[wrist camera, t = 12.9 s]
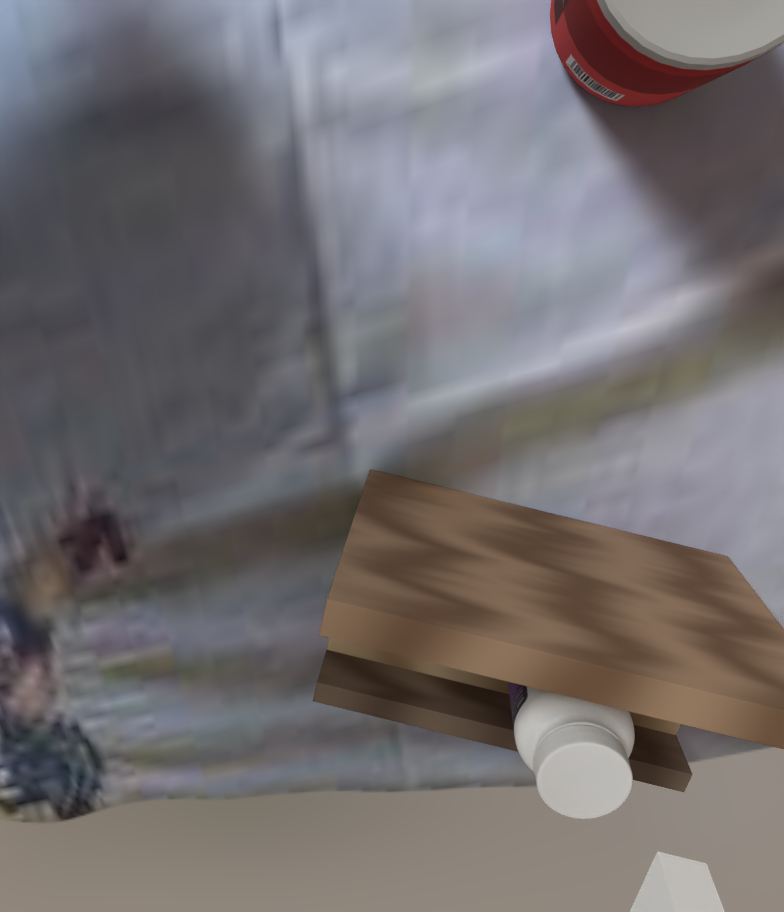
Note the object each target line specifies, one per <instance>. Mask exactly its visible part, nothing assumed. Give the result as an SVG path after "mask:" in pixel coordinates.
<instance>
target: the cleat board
mask: <svg viewBox="0 0 784 912" xmlns="http://www.w3.org/2000/svg"><path fill="white" fill-rule="evenodd" d="M319 635H320V636H324V637H328V638H329V642H328V647H327V651H326V654H325V657H324V661H323V664H322V668H321V671H320V674H319V678H318V681H317V685H316V689H315V694H314V698H313V701H315V702H319V703H323V704H327V705H331V706H335V707H339V708H343V709H347V710H351V711H355V712H360V713H364V714H368V715H372V716H376V717H380V718H384V719H388V720H392V721H396V722H400V723H404V724H408V725H413V726H417V727H421V728H425V729H429V730H433V731H437V732H441V733H445V734H449V735H453V736H457V737H461V738H465V739H470V740H474V741H478V742H482V743H486V744H490V745H494V746H498V747H502V748H506V749H510V750H514V751H518V749H517V746H516V742H515V736H514V729H513V720H512V712H511V703H510V694H509V686H508V682H511V683H516V684H520V685H524V686H528V687H532V688H536V689H540V690H544V691H548V692H552V693H556V694H560V695H565V696H569V697H573V698H577V699H581V700H585V701H589V702H593V703H597V704H601V705H605V706H610V707H614V708H618V709H622V710H626V711H629V712H630V715H631V718H632V721H633V725H634V734H635V738H634V746H633V749H632V752H631V754H630V756H629V758H628V760H629V764H630V767H631V771H632V777H633V780H637V781H641V782H645V783H649V784H653V785H657V786H661V787H665V788H669V789H673V790H677V791H682V792H684V791H685V789H686V787H687V785H688V783H689V780H690V778H691V776H692V773H691V770H690V768H689V765H688V763H687V760H686V758H685V756H684V753H683V751H682V748H681V746H680V743H679V741H678V739H677V736H676V734H677V732H678V730H679V727H680V725H681V724H683V725H687V726H691V727H695V728H699V729H703V730H708V731H712V732H716V733H720V734H724V735H728V736H732V737H736V738H740V739H744V740H748V741H752V742H757V743H761V744H765V745H769V746H773V747H777V748H781V749H784V629H783V627H782V626H781V625H780V623H779V622H778V621H777V620H776V618H775V617H774V616H773V614H772V613H771V612H770V610H769V609H768V608H767V607H766V605H765V604H764V603H763V601H762V600H761V599H760V597H759V596H758V595H757V594H756V592H755V591H754V590H753V588H752V587H751V586H750V584H749V583H748V582H747V581H746V579H745V578H744V577H743V575H742V574H741V573H740V571H739V570H738V569H737V568H736V566H735V565H734V564H733V562H732V561H731V560H730V558H729V557H728V556H724V555H720V554H716V553H711V552H707V551H703V550H699V549H695V548H691V547H687V546H683V545H679V544H674V543H670V542H666V541H662V540H658V539H654V538H650V537H646V536H642V535H637V534H633V533H629V532H625V531H621V530H617V529H613V528H609V527H605V526H600V525H596V524H592V523H588V522H584V521H580V520H576V519H572V518H568V517H563V516H559V515H555V514H551V513H547V512H543V511H539V510H535V509H531V508H527V507H522V506H518V505H514V504H510V503H506V502H502V501H498V500H494V499H490V498H485V497H481V496H477V495H473V494H469V493H465V492H461V491H457V490H453V489H448V488H444V487H440V486H436V485H432V484H428V483H424V482H420V481H416V480H411V479H407V478H403V477H399V476H395V475H391V474H387V473H383V472H379V471H374V470H370V471H369V474H368V477H367V480H366V483H365V486H364V489H363V492H362V495H361V498H360V501H359V504H358V507H357V510H356V513H355V516H354V519H353V522H352V525H351V528H350V531H349V534H348V537H347V540H346V543H345V546H344V549H343V552H342V555H341V558H340V561H339V564H338V567H337V570H336V573H335V576H334V580H333V583H332V586H331V589H330V592H329V595H328V598H327V602H326V606H325V610H324V615H323V619H322V624H321V628H320V633H319Z"/></svg>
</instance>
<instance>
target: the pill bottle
mask: <svg viewBox="0 0 784 912" xmlns="http://www.w3.org/2000/svg"><path fill="white" fill-rule="evenodd" d="M508 686H509V694H510V703H511V712H512V720H513V729H514V736H515V742H516V746H517V749H518V752H519V754H520V756H521V758H522V759H523V761H524V762H525V764H526V765H527V766H528V767H529V768H530V769H531V770H532V771H533V772H534V774H535V778H536V784H537V789H538V791H539V794H540V796H541V798H542V799H543V801H544V802H545V803H546V804H547V805H548V806H549V807H550V808H551V809H553V810H554V811H556V812H558V813H559V814H562V815H564V816H567V817H571V818H578V819H592V818H597V817H601V816H603V815H606V814H609V813H611V812H613V811H614V810H616V809H617V808H619V807H620V806H621V805H622V804H623V803H624V801H625V800H626V799H627V797H628V796H629V794H630V791H631V788H632V783H633V777H632V771H631V767H630V764H629V760H628V758H629V756H630V754H631V752H632V749H633V746H634V738H635V734H634V725H633V721H632V718H631V715H630V712H629V711H626V710H622V709H618V708H614V707H610V706H605V705H601V704H597V703H593V702H589V701H585V700H581V699H577V698H573V697H569V696H565V695H560V694H556V693H552V692H548V691H544V690H540V689H536V688H532V687H528V686H524V685H520V684H516V683H511V682H508Z"/></svg>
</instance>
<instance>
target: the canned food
mask: <svg viewBox="0 0 784 912" xmlns="http://www.w3.org/2000/svg"><path fill="white" fill-rule="evenodd" d="M550 21H551V33H552V37H553V41H554V44H555V48H556V51H557V54H558V56H559V58H560V60H561V62H562V64H563V66H564V68H565V69H566V70H567V71H568V73H569V74H570V75H571V76H572V78H573V79H574V80H575V82H577V83H578V84H579V85H580V86H581V87H583V88H584V89H585V90H586V91H587V92H589V93H590V94H592V95H594V96H596V97H598V98H600V99H602V100H604V101H607V102H611V103H614V104H618V105H623V106H646V105H653V104H659V103H661V102H664V101H667V100H670V99H673V98H676V97H678V96H680V95H682V94H684V93H686V92H688V91H690V90H693V89H695V88H697V87H699V86H701V85H703V84H705V83H707V82H709V81H712V80H714V79H716V78H718V77H720V76H722V75H724V74H726V73H728V72H731V71H733V70H735V69H737V68H739V67H741V66H743V65H745V64H747V63H749V62H751V61H752V60H754V59H756V58H758V57H760V56H761V55H763V54H765V53H767V52H769V51H770V50H772V49H774V48H776V47H777V46H779V45H781V44H782V43H783V42H784V0H551V9H550Z"/></svg>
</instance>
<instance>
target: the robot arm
mask: <svg viewBox="0 0 784 912" xmlns="http://www.w3.org/2000/svg"><path fill="white" fill-rule="evenodd" d="M630 912H724V909H723V906H722V904H721V901H720V899H719V896H718V893H717V891H716V888H715V885H714V883H713V880H712V877H711V875H710V872H709V870H708V867H707V864H706V863H702V862H698V861H694V860H690V859H686V858H682V857H678V856H674V855H670V854H666V853H662V852H657V854H656V856H655V858H654V860H653V862H652V865H651V867H650V869H649V871H648V873H647V876H646V878H645V880H644V882H643V884H642V886H641V888H640V891H639V893H638V895H637V897H636V899H635V901H634V904H633V906H632V908H631V910H630Z"/></svg>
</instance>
